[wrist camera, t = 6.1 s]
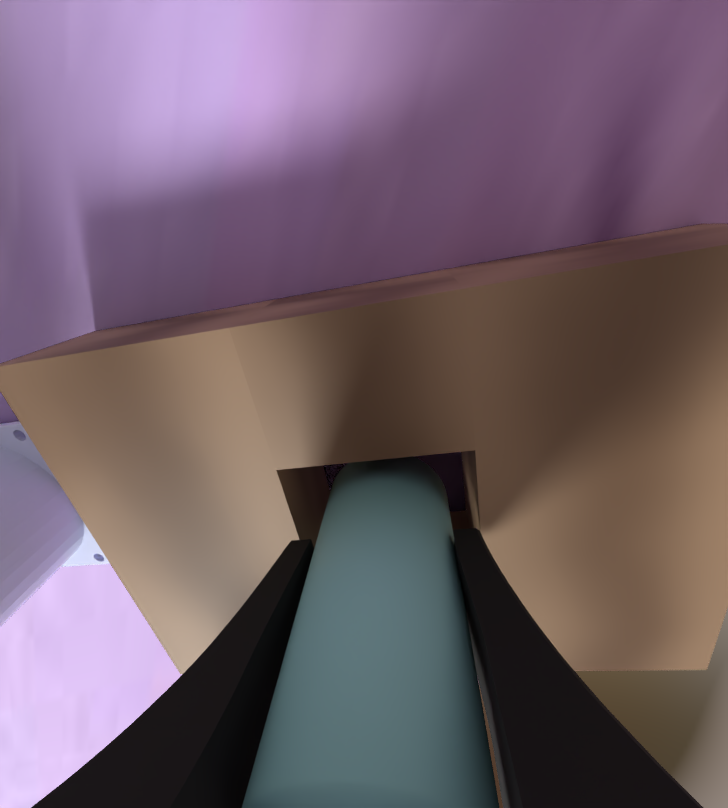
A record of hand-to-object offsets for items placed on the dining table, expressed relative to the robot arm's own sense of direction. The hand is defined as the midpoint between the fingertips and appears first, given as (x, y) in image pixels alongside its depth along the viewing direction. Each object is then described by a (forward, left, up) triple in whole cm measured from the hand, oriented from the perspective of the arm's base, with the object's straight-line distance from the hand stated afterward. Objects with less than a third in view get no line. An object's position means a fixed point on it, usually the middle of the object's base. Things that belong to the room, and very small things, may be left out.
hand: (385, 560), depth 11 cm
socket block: (0, 0, -5) cm, 5 cm away
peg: (0, 0, -2) cm, 3 cm away
